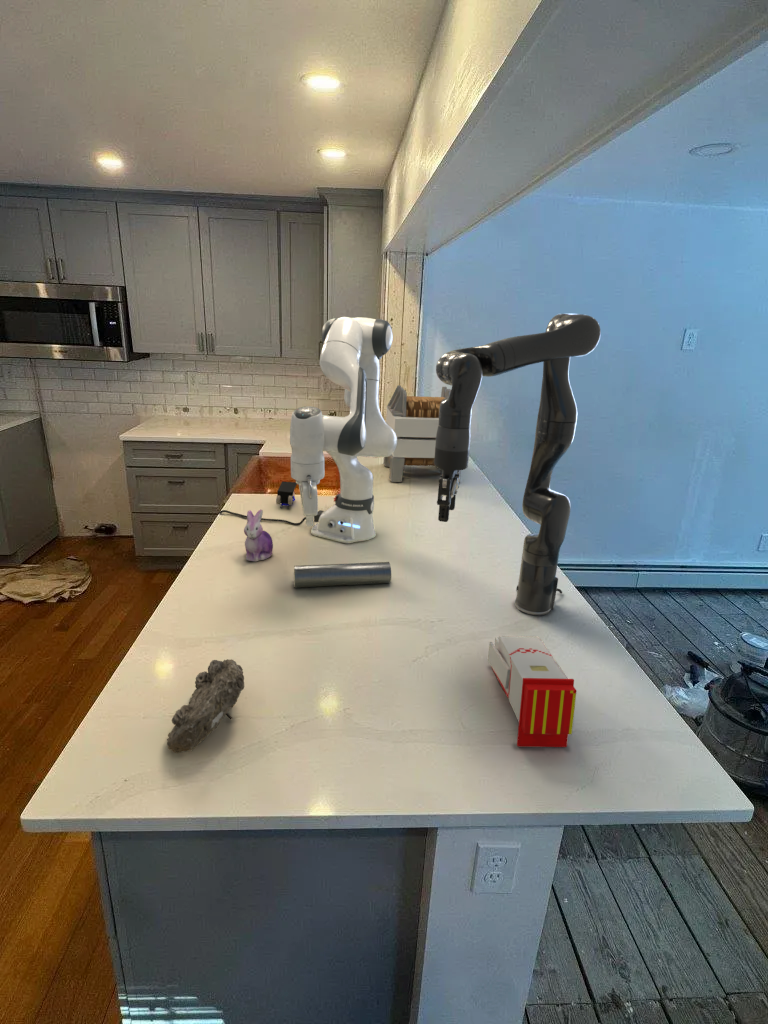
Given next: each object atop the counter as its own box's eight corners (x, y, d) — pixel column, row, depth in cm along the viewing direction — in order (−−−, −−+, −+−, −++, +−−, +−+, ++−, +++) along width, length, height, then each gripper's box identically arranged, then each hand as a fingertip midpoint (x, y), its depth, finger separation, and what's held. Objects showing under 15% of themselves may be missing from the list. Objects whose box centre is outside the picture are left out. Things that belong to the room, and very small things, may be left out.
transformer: (382, 463, 289) (386, 382, 275) (445, 464, 293) (451, 384, 279) (390, 482, 257) (394, 392, 243) (460, 483, 261) (468, 394, 247)
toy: (536, 619, 129) (586, 686, 99) (531, 673, 131) (578, 754, 102) (483, 618, 128) (517, 685, 99) (479, 672, 131) (511, 753, 102)
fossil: (192, 660, 117) (244, 628, 112) (224, 691, 120) (276, 661, 115) (142, 746, 98) (202, 712, 93) (182, 779, 101) (242, 748, 96)
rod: (294, 591, 157) (294, 571, 155) (293, 581, 162) (293, 562, 160) (390, 586, 162) (391, 567, 160) (386, 577, 168) (387, 558, 166)
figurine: (248, 564, 171) (246, 518, 166) (239, 551, 179) (237, 507, 174) (278, 559, 175) (277, 514, 170) (269, 547, 183) (267, 503, 178)
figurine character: (293, 513, 218) (297, 497, 231) (292, 495, 215) (297, 480, 228) (275, 513, 218) (281, 496, 231) (274, 495, 214) (280, 479, 228)
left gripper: (323, 482, 140) (323, 533, 145) (316, 459, 158) (317, 505, 163) (297, 483, 139) (298, 534, 144) (293, 459, 157) (294, 506, 162)
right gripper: (464, 455, 117) (457, 527, 123) (473, 441, 130) (467, 507, 136) (429, 451, 119) (424, 523, 125) (441, 438, 132) (436, 503, 138)
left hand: (308, 518), depth 154 cm, fingers open, 8 cm apart
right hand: (446, 515), depth 130 cm, fingers open, 8 cm apart
